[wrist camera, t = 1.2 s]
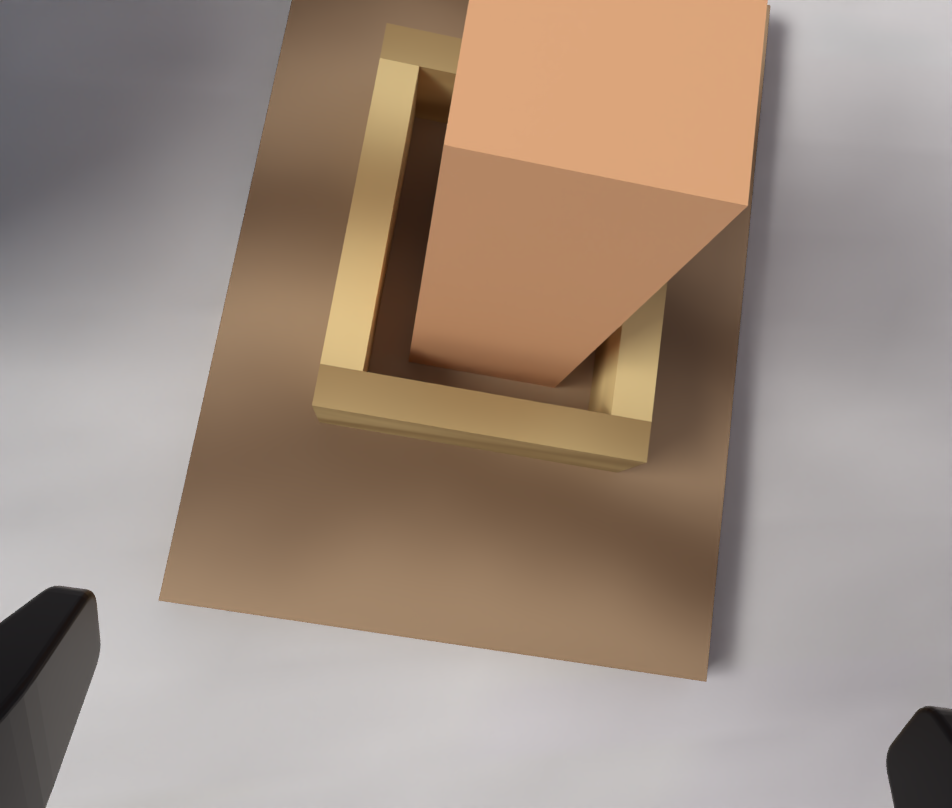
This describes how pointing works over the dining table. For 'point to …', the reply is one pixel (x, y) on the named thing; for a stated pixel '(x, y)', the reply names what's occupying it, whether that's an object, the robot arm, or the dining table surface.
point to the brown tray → (442, 399)
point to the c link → (581, 173)
